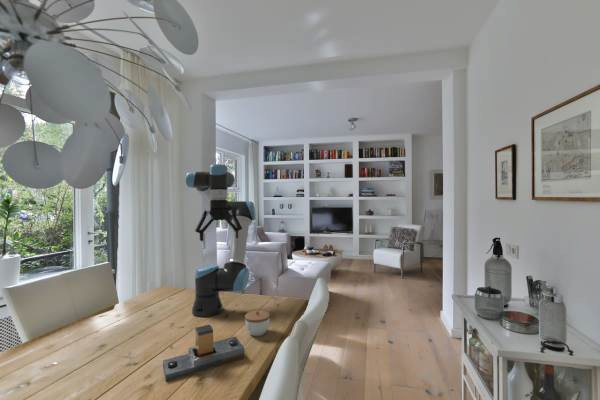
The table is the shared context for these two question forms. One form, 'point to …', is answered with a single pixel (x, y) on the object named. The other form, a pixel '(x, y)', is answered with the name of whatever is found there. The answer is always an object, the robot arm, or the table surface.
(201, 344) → the square wooden peg
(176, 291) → the table surface
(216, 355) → the slotted plate with knobs
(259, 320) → the lidded jar
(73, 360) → the table surface
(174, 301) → the table surface
